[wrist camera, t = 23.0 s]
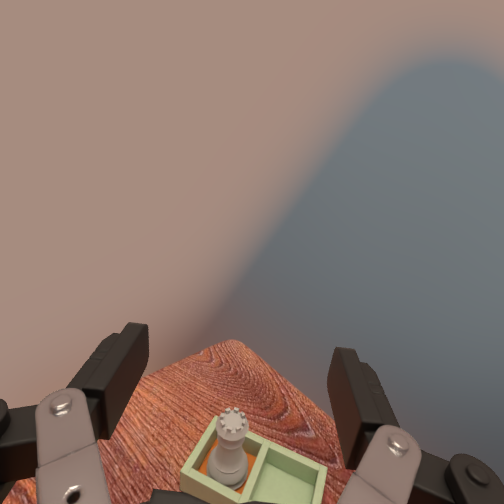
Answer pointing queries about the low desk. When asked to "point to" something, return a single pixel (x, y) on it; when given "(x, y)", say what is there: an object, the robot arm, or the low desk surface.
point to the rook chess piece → (229, 450)
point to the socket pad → (255, 474)
